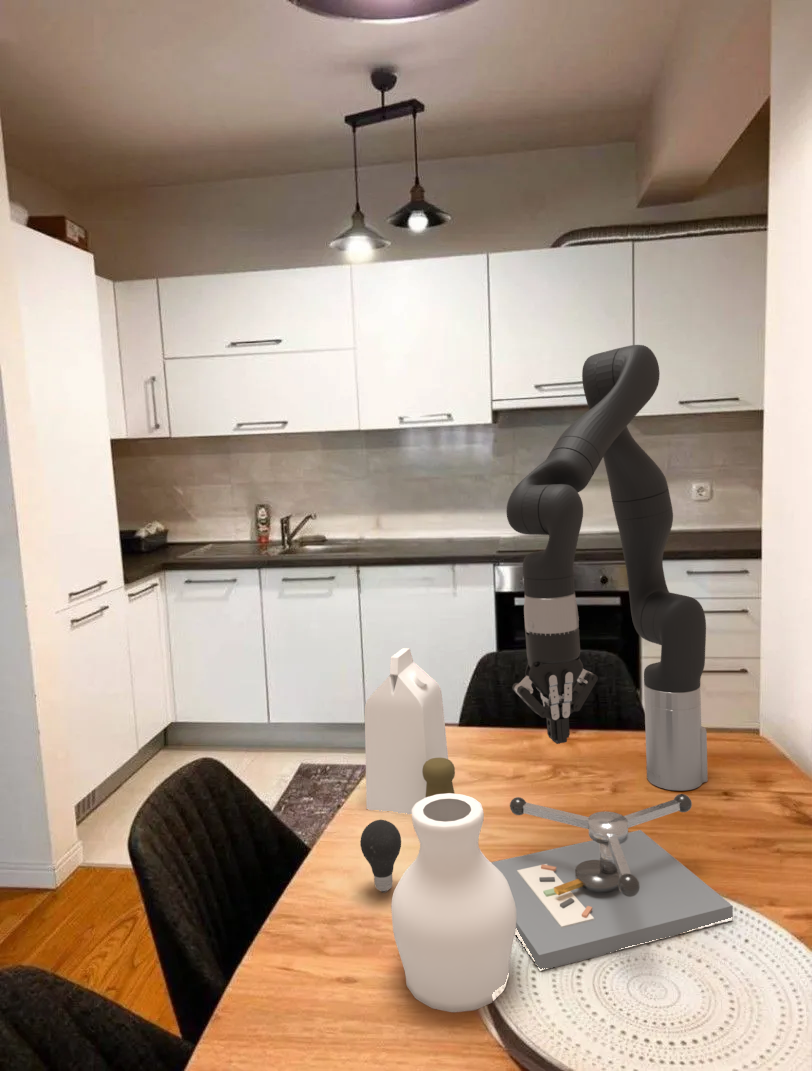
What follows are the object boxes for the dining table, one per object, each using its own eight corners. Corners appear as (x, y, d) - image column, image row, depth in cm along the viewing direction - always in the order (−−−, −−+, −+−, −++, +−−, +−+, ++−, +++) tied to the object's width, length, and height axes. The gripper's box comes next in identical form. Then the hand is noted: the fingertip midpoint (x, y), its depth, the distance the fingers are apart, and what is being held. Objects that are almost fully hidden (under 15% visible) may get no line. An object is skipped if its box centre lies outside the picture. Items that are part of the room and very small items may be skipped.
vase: (431, 921, 96) (422, 772, 93) (537, 953, 88) (530, 792, 86) (371, 994, 83) (358, 824, 81) (488, 1038, 76) (477, 853, 74)
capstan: (628, 809, 116) (626, 761, 115) (766, 890, 93) (765, 831, 92) (503, 850, 106) (500, 798, 105) (623, 951, 84) (621, 885, 83)
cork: (458, 836, 116) (454, 769, 115) (420, 835, 118) (415, 768, 116) (463, 817, 122) (459, 753, 121) (426, 816, 123) (422, 752, 122)
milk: (391, 779, 138) (382, 642, 136) (450, 785, 134) (442, 644, 132) (366, 809, 127) (355, 661, 124) (430, 816, 123) (421, 663, 120)
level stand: (640, 842, 111) (640, 826, 111) (732, 920, 92) (732, 901, 92) (477, 878, 104) (476, 862, 104) (539, 971, 85) (538, 951, 85)
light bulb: (363, 881, 106) (358, 814, 105) (402, 877, 106) (398, 810, 105) (364, 905, 100) (359, 834, 99) (406, 900, 100) (401, 830, 99)
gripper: (580, 613, 111) (586, 724, 113) (498, 626, 108) (506, 740, 110) (606, 623, 104) (613, 742, 106) (520, 637, 101) (528, 759, 103)
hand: (558, 741), depth 108 cm, fingers closed
